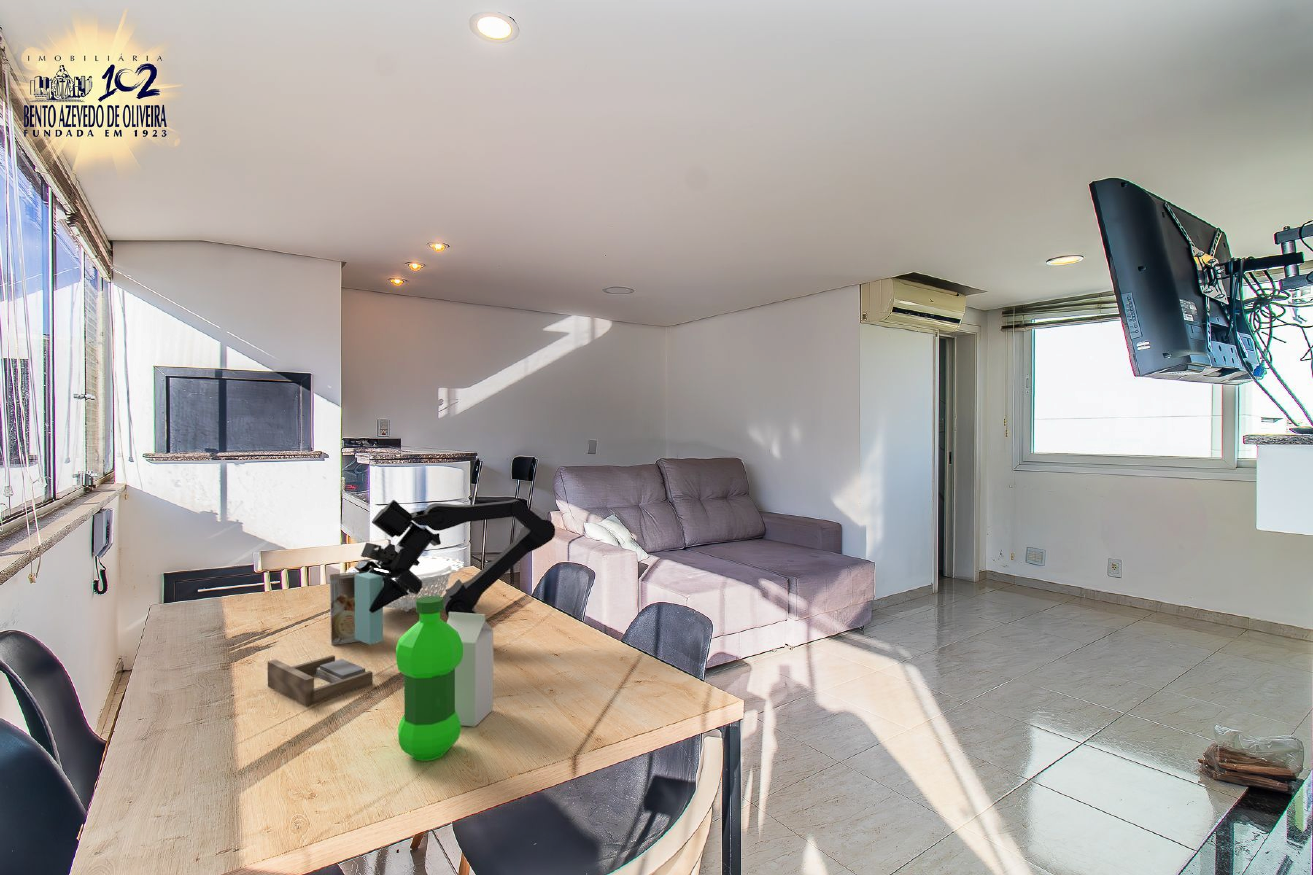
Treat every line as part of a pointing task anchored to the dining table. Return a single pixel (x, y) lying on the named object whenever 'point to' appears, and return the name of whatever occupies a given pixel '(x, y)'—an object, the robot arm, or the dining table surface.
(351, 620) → the coffee box
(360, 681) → the frame
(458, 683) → the milk carton
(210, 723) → the dining table surface
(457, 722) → the plastic bottle
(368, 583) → the teal rectangular block
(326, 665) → the offcut stack
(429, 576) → the colander
